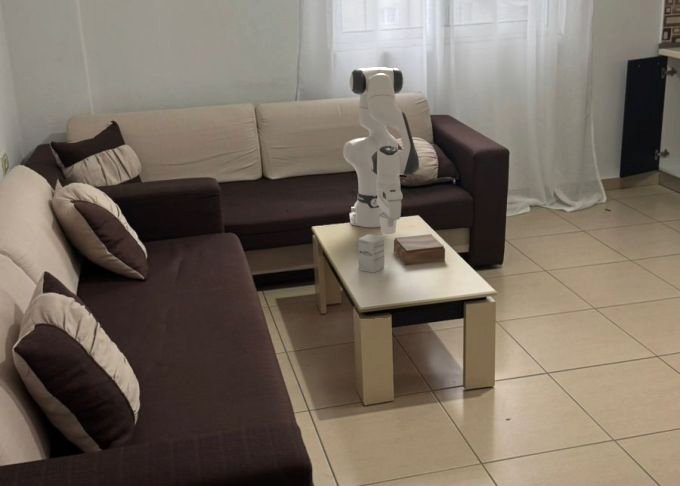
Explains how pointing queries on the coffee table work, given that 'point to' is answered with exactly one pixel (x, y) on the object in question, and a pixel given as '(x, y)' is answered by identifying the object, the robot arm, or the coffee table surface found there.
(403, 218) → the coffee table surface
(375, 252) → the supplement box
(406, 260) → the walnut box
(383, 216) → the white cylinder
